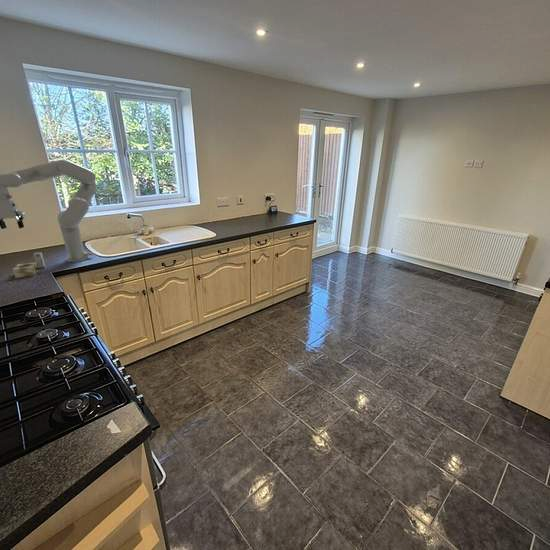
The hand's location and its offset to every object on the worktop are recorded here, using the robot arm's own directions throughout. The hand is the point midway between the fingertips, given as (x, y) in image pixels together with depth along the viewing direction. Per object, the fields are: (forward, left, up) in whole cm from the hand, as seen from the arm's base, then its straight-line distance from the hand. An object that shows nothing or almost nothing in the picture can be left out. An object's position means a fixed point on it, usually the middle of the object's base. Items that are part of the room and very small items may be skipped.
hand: (12, 228), depth 172 cm
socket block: (-5, +13, -24) cm, 28 cm away
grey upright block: (-8, +3, -24) cm, 26 cm away
